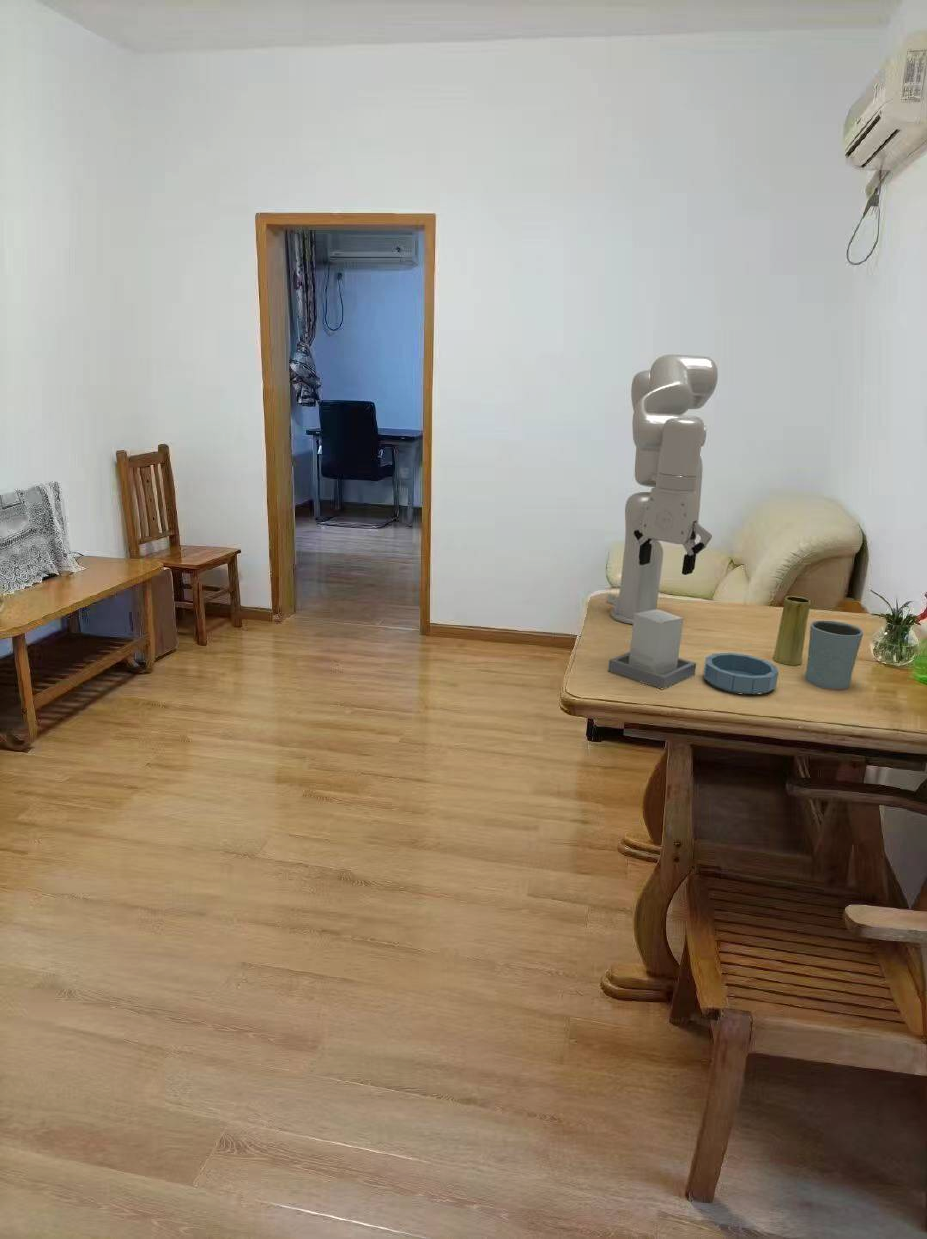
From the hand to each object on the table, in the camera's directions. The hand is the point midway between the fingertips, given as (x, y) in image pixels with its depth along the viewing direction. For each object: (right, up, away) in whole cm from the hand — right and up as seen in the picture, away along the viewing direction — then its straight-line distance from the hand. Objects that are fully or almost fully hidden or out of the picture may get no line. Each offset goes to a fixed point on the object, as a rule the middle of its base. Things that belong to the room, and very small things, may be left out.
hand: (665, 568), depth 171 cm
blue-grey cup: (+35, -23, +8) cm, 43 cm away
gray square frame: (-1, -21, +7) cm, 22 cm away
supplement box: (-1, -21, +7) cm, 23 cm away
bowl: (+16, -23, +4) cm, 28 cm away
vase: (+31, -19, +19) cm, 42 cm away
